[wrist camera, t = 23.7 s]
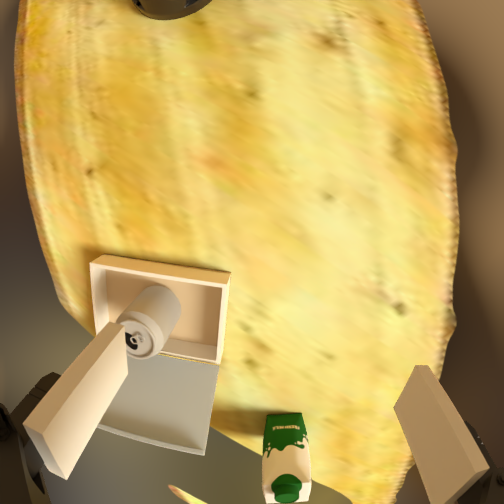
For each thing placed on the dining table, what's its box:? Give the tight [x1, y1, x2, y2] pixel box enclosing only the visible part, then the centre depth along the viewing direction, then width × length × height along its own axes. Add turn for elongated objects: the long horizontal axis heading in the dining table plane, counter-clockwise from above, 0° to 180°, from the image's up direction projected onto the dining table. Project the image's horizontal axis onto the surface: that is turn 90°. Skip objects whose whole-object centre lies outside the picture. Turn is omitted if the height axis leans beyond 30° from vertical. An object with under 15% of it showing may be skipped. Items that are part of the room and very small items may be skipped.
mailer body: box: [90, 254, 231, 364], centre depth 47 cm, size 14×22×5 cm, turn 83°
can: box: [115, 285, 181, 360], centre depth 43 cm, size 8×8×12 cm
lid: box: [97, 354, 219, 455], centre depth 40 cm, size 15×22×2 cm
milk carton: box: [262, 413, 311, 503], centre depth 47 cm, size 9×9×20 cm
